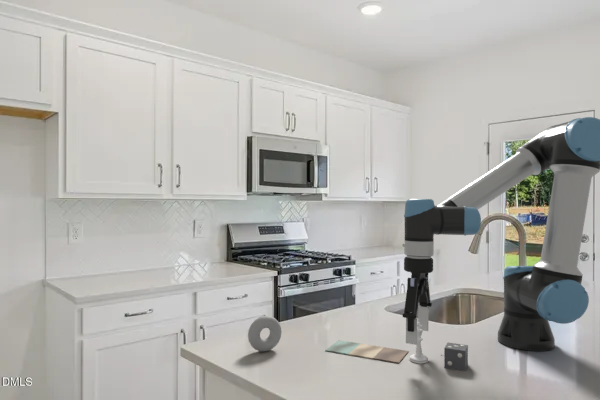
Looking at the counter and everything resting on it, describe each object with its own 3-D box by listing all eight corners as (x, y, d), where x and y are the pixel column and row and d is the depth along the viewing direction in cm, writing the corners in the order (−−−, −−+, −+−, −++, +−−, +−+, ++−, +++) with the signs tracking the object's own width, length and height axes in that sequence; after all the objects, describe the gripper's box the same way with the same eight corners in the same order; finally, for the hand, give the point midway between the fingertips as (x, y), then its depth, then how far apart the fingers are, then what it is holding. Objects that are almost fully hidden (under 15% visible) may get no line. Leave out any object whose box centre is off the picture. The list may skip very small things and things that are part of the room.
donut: (250, 356, 121) (250, 319, 121) (246, 352, 124) (246, 316, 124) (283, 350, 126) (283, 315, 126) (278, 346, 129) (278, 312, 129)
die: (467, 364, 115) (467, 344, 115) (465, 371, 110) (465, 350, 110) (447, 361, 117) (447, 342, 117) (444, 367, 112) (444, 347, 112)
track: (408, 352, 124) (408, 350, 124) (398, 363, 115) (398, 362, 115) (338, 341, 134) (338, 340, 134) (325, 351, 125) (325, 349, 125)
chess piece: (429, 364, 115) (429, 325, 115) (409, 362, 116) (409, 324, 116) (427, 357, 120) (427, 320, 120) (408, 356, 121) (408, 319, 121)
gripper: (415, 251, 131) (414, 323, 131) (391, 260, 109) (390, 347, 109) (441, 253, 127) (440, 327, 127) (422, 263, 105) (421, 352, 105)
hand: (417, 336), depth 118 cm, fingers open, 13 cm apart
